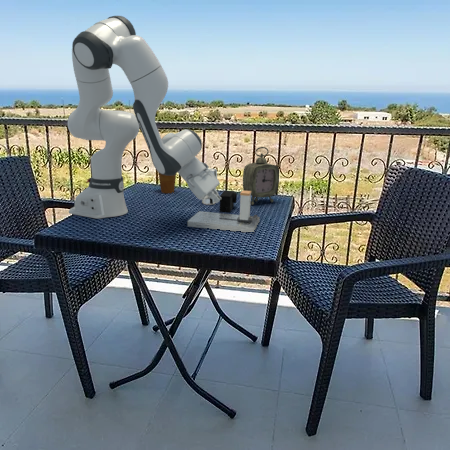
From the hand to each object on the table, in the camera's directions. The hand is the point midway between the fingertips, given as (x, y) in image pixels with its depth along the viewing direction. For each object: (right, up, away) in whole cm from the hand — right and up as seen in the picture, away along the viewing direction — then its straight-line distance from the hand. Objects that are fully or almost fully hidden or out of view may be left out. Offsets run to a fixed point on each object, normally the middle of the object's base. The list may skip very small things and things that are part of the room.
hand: (219, 201), depth 142 cm
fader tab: (+9, -7, -1) cm, 12 cm away
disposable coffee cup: (-26, +7, +49) cm, 56 cm away
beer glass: (-5, +1, +31) cm, 31 cm away
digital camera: (+3, -2, +22) cm, 22 cm away
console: (+2, -8, +2) cm, 9 cm away
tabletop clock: (+17, +1, +35) cm, 39 cm away
